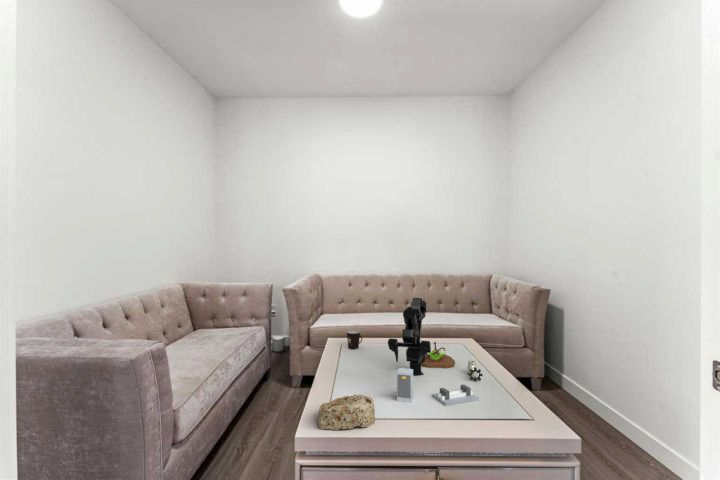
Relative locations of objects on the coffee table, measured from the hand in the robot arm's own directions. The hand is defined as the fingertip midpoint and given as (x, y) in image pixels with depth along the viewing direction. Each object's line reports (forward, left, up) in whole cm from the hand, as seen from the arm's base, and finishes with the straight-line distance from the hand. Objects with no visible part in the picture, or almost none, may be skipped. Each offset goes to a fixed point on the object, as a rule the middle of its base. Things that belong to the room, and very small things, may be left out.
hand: (407, 362), depth 157 cm
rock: (+21, -29, -14) cm, 38 cm away
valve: (-15, +37, -13) cm, 43 cm away
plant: (-40, +28, -14) cm, 51 cm away
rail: (+8, +18, -13) cm, 24 cm away
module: (+6, -3, -13) cm, 15 cm away
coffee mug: (-74, -13, -13) cm, 77 cm away
